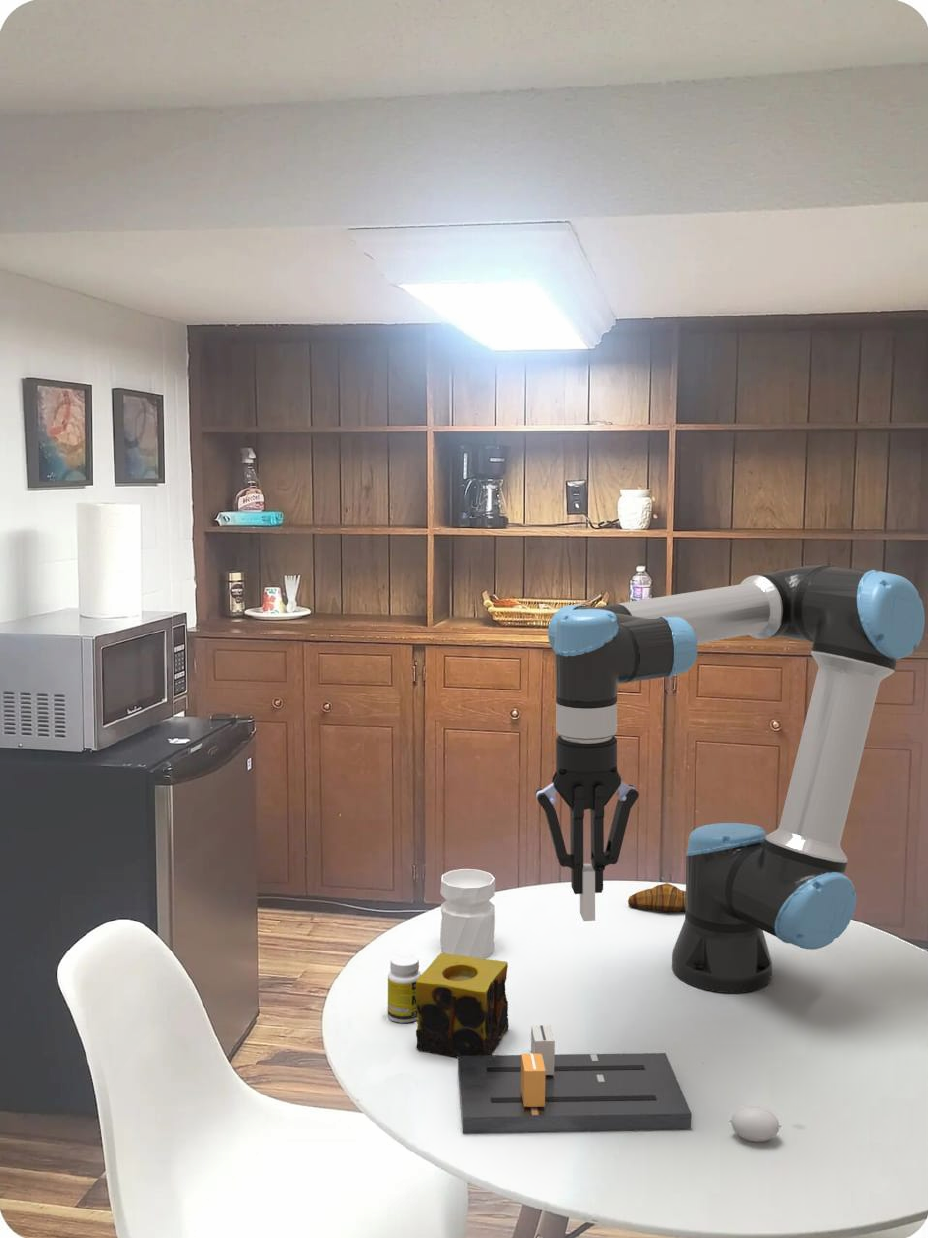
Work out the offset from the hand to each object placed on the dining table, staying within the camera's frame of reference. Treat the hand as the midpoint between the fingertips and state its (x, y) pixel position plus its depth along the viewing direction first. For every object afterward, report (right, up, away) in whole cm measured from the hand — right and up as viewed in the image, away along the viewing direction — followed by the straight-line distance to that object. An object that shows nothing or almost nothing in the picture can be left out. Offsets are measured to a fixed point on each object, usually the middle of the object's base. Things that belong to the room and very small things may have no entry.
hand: (587, 916), depth 145 cm
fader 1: (-6, -19, 0) cm, 20 cm away
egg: (+18, -23, -11) cm, 32 cm away
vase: (-15, -16, +40) cm, 45 cm away
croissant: (+20, -14, +58) cm, 63 cm away
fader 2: (-7, -20, -7) cm, 22 cm away
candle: (-16, -20, +11) cm, 28 cm away
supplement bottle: (-24, -19, +18) cm, 35 cm away
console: (-3, -22, -3) cm, 22 cm away
